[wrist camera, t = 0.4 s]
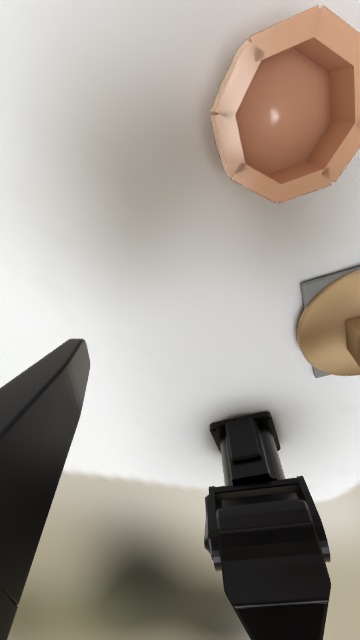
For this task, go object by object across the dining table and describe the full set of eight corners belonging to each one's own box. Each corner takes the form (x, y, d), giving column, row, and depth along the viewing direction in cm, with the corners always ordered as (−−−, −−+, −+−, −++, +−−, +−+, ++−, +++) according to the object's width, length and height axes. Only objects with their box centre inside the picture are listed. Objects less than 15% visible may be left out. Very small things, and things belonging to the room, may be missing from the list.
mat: (408, 352, 27) (411, 355, 26) (314, 374, 28) (315, 377, 28) (417, 249, 21) (421, 251, 21) (300, 283, 23) (302, 286, 23)
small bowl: (344, 160, 18) (375, 169, 15) (230, 201, 20) (238, 217, 17) (337, 4, 15) (376, -22, 12) (197, 67, 16) (200, 58, 13)
